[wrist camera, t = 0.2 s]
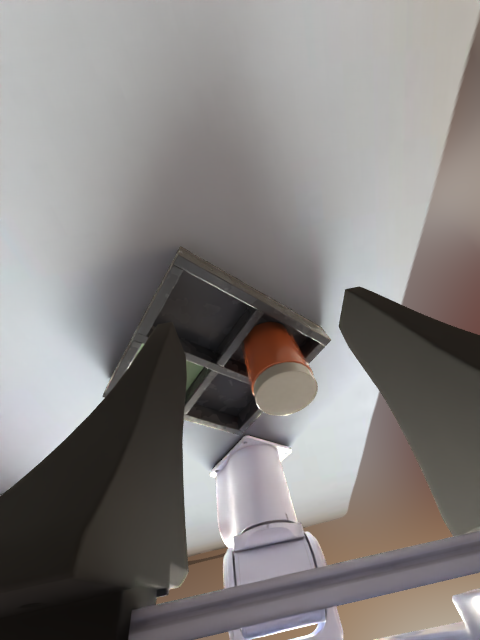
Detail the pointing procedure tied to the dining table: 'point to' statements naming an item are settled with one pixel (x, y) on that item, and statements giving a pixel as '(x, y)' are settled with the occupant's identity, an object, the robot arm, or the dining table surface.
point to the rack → (215, 338)
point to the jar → (277, 370)
